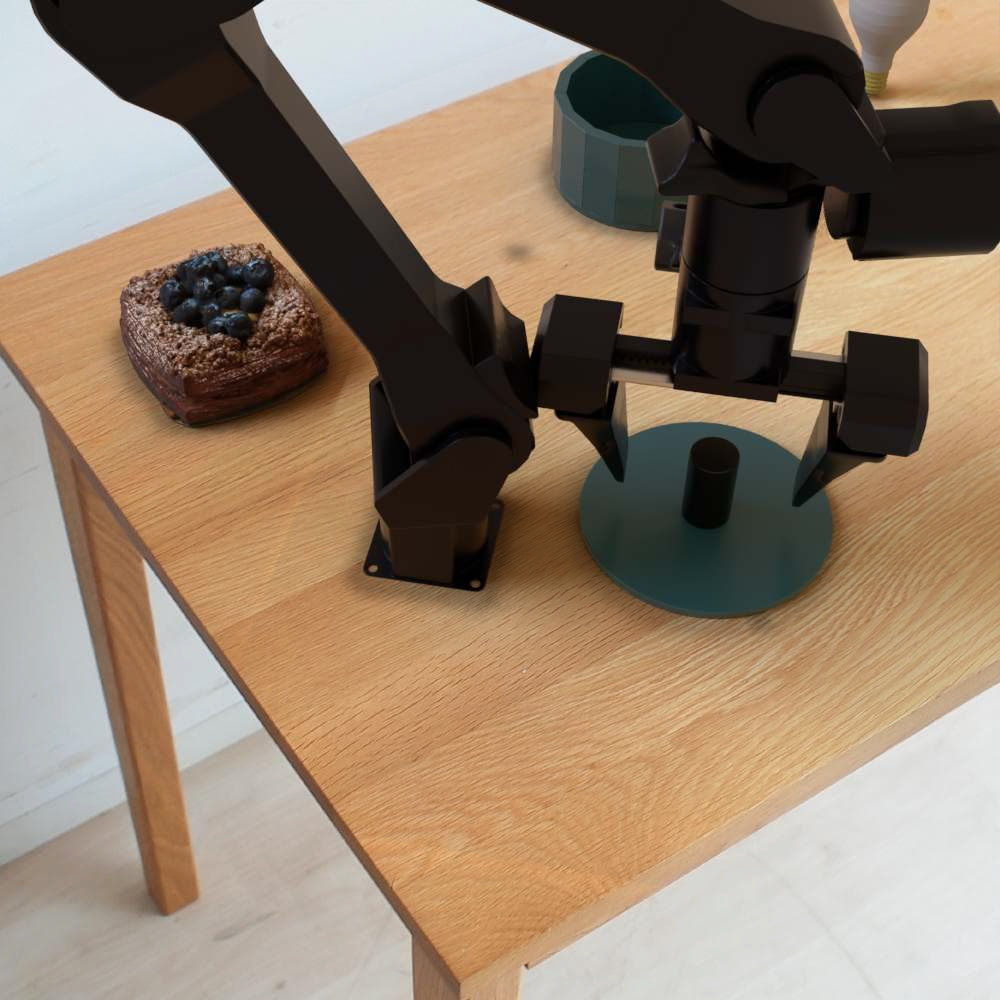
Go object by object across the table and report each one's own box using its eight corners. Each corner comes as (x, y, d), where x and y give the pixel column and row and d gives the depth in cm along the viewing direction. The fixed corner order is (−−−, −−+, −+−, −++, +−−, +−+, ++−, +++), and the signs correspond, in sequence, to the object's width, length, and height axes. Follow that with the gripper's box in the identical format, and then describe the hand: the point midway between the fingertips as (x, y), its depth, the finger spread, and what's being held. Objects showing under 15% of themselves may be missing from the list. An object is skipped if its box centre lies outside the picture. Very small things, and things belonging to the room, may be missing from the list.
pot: (728, 241, 95) (741, 158, 90) (538, 219, 96) (540, 136, 91) (743, 132, 103) (755, 50, 98) (568, 113, 104) (571, 31, 99)
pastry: (181, 445, 82) (163, 370, 78) (103, 326, 89) (82, 250, 85) (352, 375, 86) (344, 299, 82) (265, 265, 93) (253, 190, 88)
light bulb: (817, 83, 107) (841, -45, 99) (878, 66, 108) (906, -62, 101) (859, 121, 104) (887, -8, 96) (922, 103, 105) (954, -26, 98)
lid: (825, 644, 73) (844, 575, 69) (559, 604, 75) (563, 534, 71) (834, 452, 82) (852, 380, 78) (597, 420, 84) (602, 348, 79)
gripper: (956, 171, 69) (889, 406, 80) (567, 128, 71) (557, 362, 83) (961, 325, 61) (886, 558, 73) (528, 272, 64) (523, 506, 75)
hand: (707, 488), depth 76 cm, fingers open, 9 cm apart
